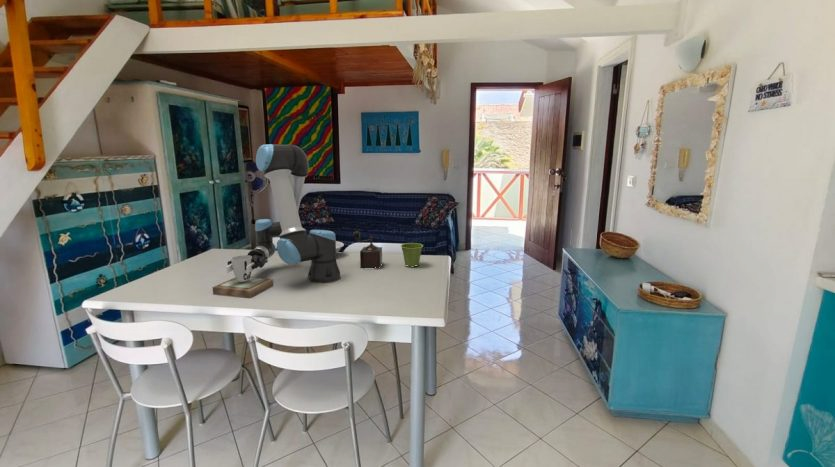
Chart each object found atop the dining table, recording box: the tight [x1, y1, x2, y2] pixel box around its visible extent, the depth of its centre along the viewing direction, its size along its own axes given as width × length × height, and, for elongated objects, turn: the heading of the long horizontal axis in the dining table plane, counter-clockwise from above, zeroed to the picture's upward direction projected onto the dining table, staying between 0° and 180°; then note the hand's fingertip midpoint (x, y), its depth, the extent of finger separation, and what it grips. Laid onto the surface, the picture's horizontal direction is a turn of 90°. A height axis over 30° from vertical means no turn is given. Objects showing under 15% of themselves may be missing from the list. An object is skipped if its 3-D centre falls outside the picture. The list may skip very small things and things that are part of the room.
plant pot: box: [400, 242, 424, 266], centre depth 209 cm, size 12×12×11 cm
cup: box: [230, 254, 252, 282], centre depth 170 cm, size 8×8×10 cm
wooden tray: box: [211, 276, 274, 299], centre depth 171 cm, size 18×16×3 cm
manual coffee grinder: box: [352, 230, 383, 269], centre depth 208 cm, size 16×11×18 cm
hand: (237, 269), depth 165 cm, fingers closed on cup, 8 cm apart
